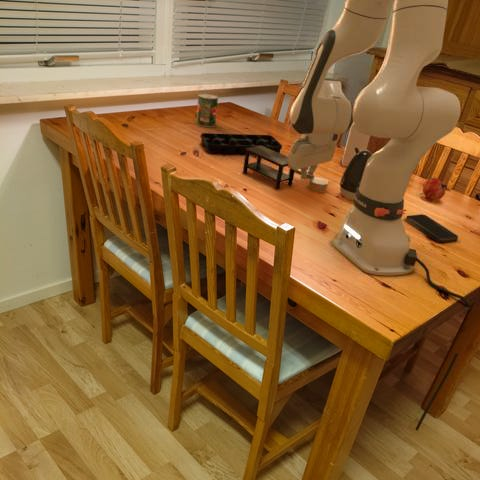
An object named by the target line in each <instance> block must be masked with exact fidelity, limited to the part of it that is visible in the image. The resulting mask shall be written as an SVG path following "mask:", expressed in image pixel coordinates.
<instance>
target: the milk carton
mask: <svg viewBox="0 0 480 480" xmlns="http://www.w3.org/2000/svg"><path fill="white" fill-rule="evenodd" d="M348 131H349V132H348V136H347V139H346V143H345V147H344V152H343V155H342V158H341V166H342V167H346V168H347V166H348V164H349V162H350V161H351V159H352V158H353V157H354V156H355V155H356V152H355V148H358V149H359V151H361V150H367V148H368V146H369V142H370V138H371V136H370V135H367V134H363V133H361V132H359V131H358V130H357V128H356V127H355V124H354V121H353V124H352V126H351V127H350V129H349V130H348Z"/></svg>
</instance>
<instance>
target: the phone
mask: <svg viewBox="0 0 480 480" xmlns="http://www.w3.org/2000/svg"><path fill="white" fill-rule="evenodd" d="M405 222H407V223H408V224H410V225H411V226H413V227H414V228H416V229H417V230H418V231H420V232H421V233H423V234H424V235H426V236H427V237H429V238H430V239H432V241H434V242H436V243H438V244H445V243H451V242H456V241H457V242H458V239H459V236H458V235H457V234H456V233H454V232H453V231H452V230H449V229H448V228H447V227H446V226H443V225H442V224H441V223H439V222H437V221H436V220H434V219H433V218H431V217H430V216H428V215H427V214H423V213H421V214H412V215H411V214H410V215H406V217H405Z"/></svg>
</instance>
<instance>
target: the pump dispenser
mask: <svg viewBox="0 0 480 480" xmlns="http://www.w3.org/2000/svg"><path fill="white" fill-rule="evenodd" d="M355 152H356V155H355V156H354V157H353V158H352V159H351V161H350V162H349V164H348V166H347V167H346V168H345V170H344V172H343V173H342V176H341V178H340V181H339V187H340V189H339V190H340V194H341V195H342V197H343V198H345V200H348V201H349V202H350V201H351V202H353V200H354V196H355V193H356V191H357V189H358V188H359V186H360V183H361V180H362V176H363V173H364V169H365V166H366V162H367V160H368V159H369V157H370V156H371V155H372V154H373V153H372V151H369V150H367V149H366V150H361V151H359V149H358V148H355Z"/></svg>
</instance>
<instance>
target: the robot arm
mask: <svg viewBox="0 0 480 480" xmlns="http://www.w3.org/2000/svg"><path fill="white" fill-rule="evenodd" d="M392 3H393V4H392ZM448 5H449V0H345V2H344V6H343V8H342V12H341V14H340V16H339V18H338V20H337V21H336V23H335V24H334V25H333V27H332V28H331V29H330V30H328V31H326V32H325V33H324V34H323V36H322V37H321V39H320V41H319V43H318V45H317V47H316V50H315V52H314V54H313V57H312V59H311V62H310V64H309V67H308V69H307V71H306V73H305V76H304V79H303V81H302V83H301V86H300V88H299V90H298V92H297V94H296V96H295V98H294V99H293V101H292V103H291V106H290V108H289V114H288V119H289V120H288V121H289V124H290V126H291V127H292V128H293V130H294V131H295V132H296V133H298V134H299V135H300V137H298V138H296V140H295V141H294V142H293V143H292V145H291V147H290V149H289V152H288V156H287V157H288V160H287V164H288V166H287V168H288V169H290V168H291V169H293V170H298V169H300V170H301V173H302V174H301V175H300V179H301V180H303V181H305V180H309V179H308V175H309V174H311V175H313V176H314V173H315V172H316V170H317V168H318V166H319V165H321V164H324V163H329V162H331V161H332V160H333V158H334V156H335V152H336V149H337V143H338V142H337V141H338V140H340V139H339V138H340V135H341V134H346V133H347V132H348V131H350V128H351V126H352V124H353V121H354V124H355V127H356V128H357V130H358V131H359V132H361V133H363V134H367V135H370V137H373V138H378V139H389V140H388V142H387V143H386V144H385V145H384V146H383V147H382V148H380V149H379V150H377V151H375V152H374V153H371V154H372V155H371V156H370V157H369V159H368V160H367V162H366V166H365V169H364V173H363V176H362V180H361V183H360V186H359V188H358V189H357V191H356V193H355V196H354V200H353V201H352V206H351V208H350V210H349V211H348V212H347V213H346V215H345V216H344V219H343V221H342V224H341V227H340V229H339V231H338V234H337V237H335V238H334V239H333V241H332V242H331V245H332V247H334V248H335V249H336V250H338V251H339V252H340V253H342V254H343V255H344V256H345V257H346V258H347V259H349V261H351V262H352V263H353V264H354V265H356V266H357V268H359V269H360V270H361V271H362V272H364V273H367V274H370V275H375V276H385V277H386V276H390V277H391V276H403V275H408V274H410V273H412V272H413V271H414V269H415V268H414V267H415V265H416V263H418V264H419V265H420V266H421V267H422V268H423V270H424V271H425V276H426V281H427V282H428V284H429V285H430V286H431V287H433V288H435V289H436V290H438V291H440V292H442V293H445V294H447V295H449V296H451V297H454V298H457V299H460V300H461V301H463V302H464V303H465V305H466V307H467V309H471V310H472V305H471V303H470V301H469V300H468V299H467V298H466V297H464V296H463V295H460V294H458V293H455V292H453V291H451V290H448V289H446V288H443V287H441V286H439V285H438V284H436V283H434V282H433V281H432V279H431V275H430V270H429V268H428V267H427V265H426V264H425V263H424V262H423V261H421V259H419V258H418V254H417V250H416V249H414V248H410V242H411V236H410V235H408V234H407V232H406V229H405V225H404V223H403V218H402V217H403V215H406V213H405V212H407V209H404V208H405V199H404V198H405V195H406V192H407V189H408V186H409V184H410V182H411V179H412V176H413V174H414V172H415V170H416V168H417V167H418V165H419V163H420V162H421V161H422V160H423V158H424V157H425V155H426V154H427V153H428V151H430V149H431V148H432V147H433V146H434V145H435V144H436V143H438V142H439V141H440V140H441V139H442V138H445V137H447V136H449V134H451V133H452V132H453V130H454V129H456V126H457V124H458V122H459V120H460V117H461V103H460V100H459V98H458V97H457V95H456V94H454V93H453V92H450V91H448V90H445V89H442V88H439V87H435V86H433V87H432V86H419V85H417V83H418V79H419V76H420V74H421V72H422V70H423V69H424V67H426V66H428V65H430V64H431V63H433V62H434V61H435V60H436V59H437V58H438V57H439V55H440V53H441V52H442V49H443V42H444V35H445V28H446V22H447V13H448V7H449V6H448ZM391 7H392V10H391ZM390 10H391V11H392V12H391V18H390V28H389V34H388V42H387V48H386V53H385V56H384V59H383V62H382V65H381V67H380V69H379V71H378V73H377V74H376V76H375V77H374V78H373V80H372V81H371V82H370V83H369V84H368V85H367V86H366V87H364V88H363V89H362V90H361V91H360V92H359V93H358V95H357V96H356V98H355V100H354V102H353V103H352V101H351V100H350V99H347V97H346V96H345V94H344V93H343V91H342V82H341V81H340V80H339V79H336V78H327V76H328V73H329V71H330V69H331V68H332V67H333V66H334V65H335V64H336V63H337V62H339V61H341V60H343V59H346V58H349V57H351V56H354V55H359V54H362V53H363V52H366V51H367V50H369V49H371V48H372V47H373V46H374V45H375V44H377V42H378V41H379V39H380V38H381V36H382V34H383V32H384V28H385V26H386V23H387V20H388V17H389V13H390ZM307 173H309V174H307ZM458 356H459V353H458V352H457V353H454V354H453V357H452V359H451V362H450V363H449V365H448V367H447V369H446V372H445V373H444V375H443V377H442V379H441V381H440V383H439V384H438V386H437V388H436V390H435V391H434V393H433V395H432V397H431V399H430V400H429V402H428V404H427V406H426V408H425V409H424V411H423V413H422V415H421V417H420V419H419V421H418V423H417V425H416V427H415V431H416V432H417V431H419V429H420V427H421V425H422V423H423V421H424V420H425V417H426V415H427V414H428V412H429V410H430V408H431V406H432V405H433V404H434V401H435V399H436V398H437V396H438V394H439V392H441V391H440V390H441V389H442V387H443V385H444V384H445V382H446V380H447V378H448V376H449V375H450V372H451V370H452V369H453V367H454V365H455V363H456V360H457V358H458Z"/></svg>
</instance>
